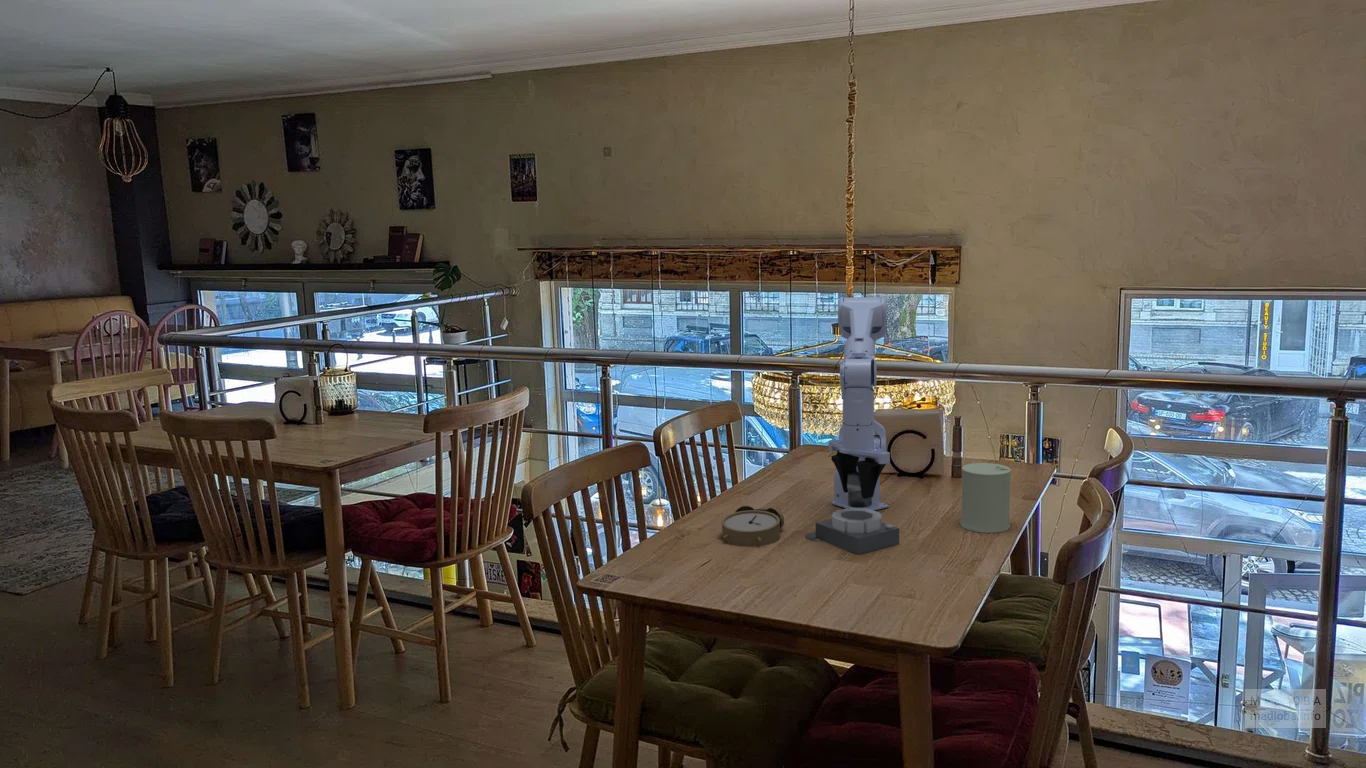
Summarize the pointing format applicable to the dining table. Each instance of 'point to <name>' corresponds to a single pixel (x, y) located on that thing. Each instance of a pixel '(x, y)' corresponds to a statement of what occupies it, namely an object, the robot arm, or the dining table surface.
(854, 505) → the lens
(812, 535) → the lens cap
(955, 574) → the dining table surface
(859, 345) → the robot arm
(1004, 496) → the can
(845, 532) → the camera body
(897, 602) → the dining table surface
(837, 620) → the dining table surface
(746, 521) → the alarm clock
